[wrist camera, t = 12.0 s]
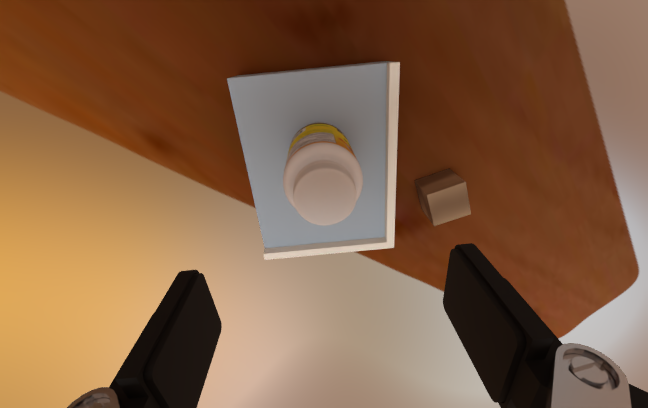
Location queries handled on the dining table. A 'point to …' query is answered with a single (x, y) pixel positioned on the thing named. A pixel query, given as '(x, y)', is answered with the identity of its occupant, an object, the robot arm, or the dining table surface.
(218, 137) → the dining table surface
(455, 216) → the light brown cube
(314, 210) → the supplement bottle
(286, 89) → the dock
